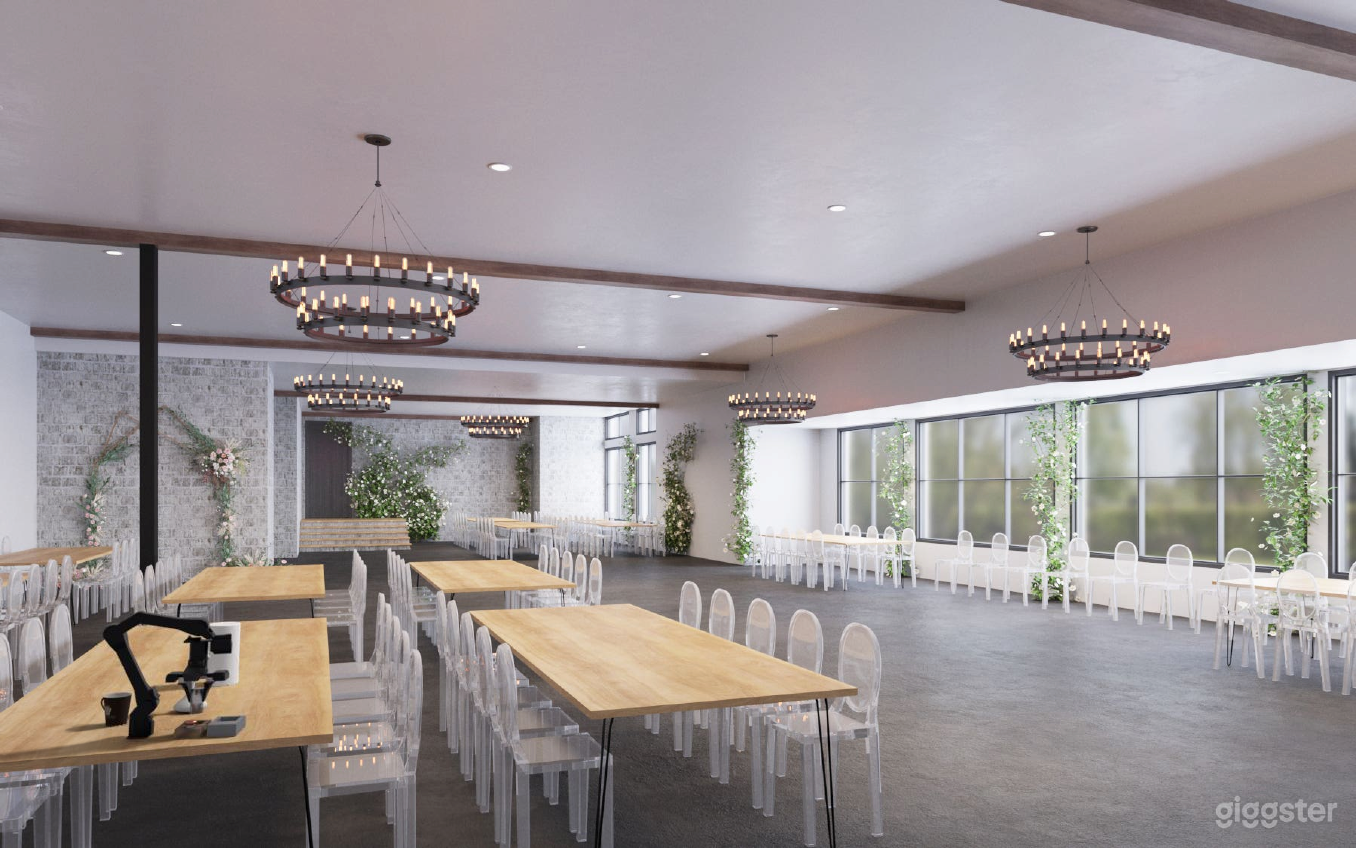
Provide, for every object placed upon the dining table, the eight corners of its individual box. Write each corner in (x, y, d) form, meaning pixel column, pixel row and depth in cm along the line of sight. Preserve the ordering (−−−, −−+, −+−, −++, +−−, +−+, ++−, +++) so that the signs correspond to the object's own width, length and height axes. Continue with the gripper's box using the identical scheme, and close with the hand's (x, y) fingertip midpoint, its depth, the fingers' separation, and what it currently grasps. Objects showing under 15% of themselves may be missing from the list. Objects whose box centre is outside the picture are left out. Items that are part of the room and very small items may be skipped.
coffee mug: (133, 724, 323) (134, 695, 323) (105, 728, 317) (106, 699, 317) (125, 718, 331) (126, 690, 332) (97, 722, 325) (98, 693, 326)
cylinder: (233, 679, 400) (236, 621, 401) (241, 684, 390) (244, 624, 392) (202, 683, 392) (204, 623, 393) (209, 688, 382) (212, 626, 384)
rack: (206, 737, 306) (207, 725, 307) (217, 728, 318) (218, 716, 318) (235, 736, 308) (236, 724, 308) (245, 727, 320) (246, 715, 320)
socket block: (174, 738, 305) (174, 729, 305) (186, 729, 316) (186, 720, 316) (200, 737, 306) (200, 728, 306) (211, 728, 318) (211, 719, 318)
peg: (188, 714, 311) (189, 690, 312) (191, 711, 315) (192, 687, 316) (200, 713, 312) (201, 689, 313) (204, 711, 316) (205, 687, 317)
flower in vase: (192, 715, 336) (195, 645, 338) (165, 713, 338) (168, 644, 340) (217, 707, 349) (220, 640, 350) (191, 705, 351) (193, 639, 353)
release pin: (181, 735, 306) (181, 722, 306) (185, 732, 309) (185, 719, 310) (194, 734, 306) (194, 722, 307) (198, 731, 310) (198, 719, 311)
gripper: (160, 660, 305) (158, 708, 304) (221, 659, 309) (219, 706, 308) (172, 654, 316) (170, 701, 315) (230, 653, 320) (228, 699, 319)
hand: (196, 702), depth 314 cm, fingers closed on peg, 4 cm apart
